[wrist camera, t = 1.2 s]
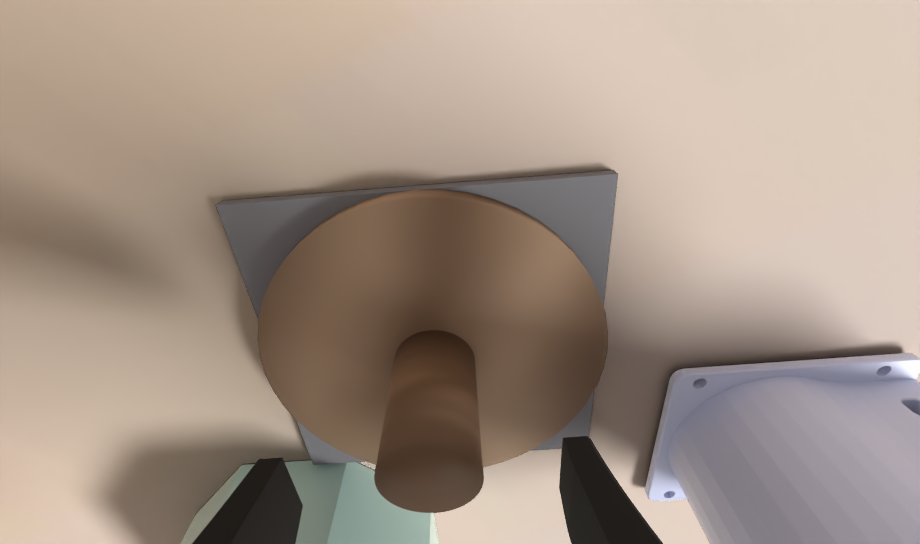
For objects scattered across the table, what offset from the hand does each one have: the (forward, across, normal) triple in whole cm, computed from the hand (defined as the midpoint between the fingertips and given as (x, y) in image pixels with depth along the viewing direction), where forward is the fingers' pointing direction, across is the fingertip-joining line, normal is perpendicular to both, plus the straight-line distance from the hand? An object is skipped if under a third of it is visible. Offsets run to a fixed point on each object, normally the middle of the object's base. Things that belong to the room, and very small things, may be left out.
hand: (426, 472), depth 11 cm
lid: (+5, 0, 0) cm, 5 cm away
